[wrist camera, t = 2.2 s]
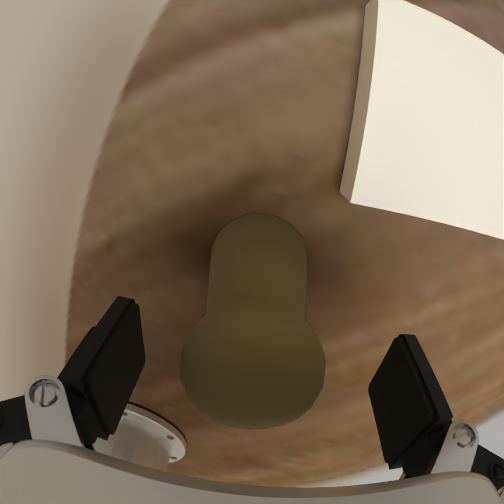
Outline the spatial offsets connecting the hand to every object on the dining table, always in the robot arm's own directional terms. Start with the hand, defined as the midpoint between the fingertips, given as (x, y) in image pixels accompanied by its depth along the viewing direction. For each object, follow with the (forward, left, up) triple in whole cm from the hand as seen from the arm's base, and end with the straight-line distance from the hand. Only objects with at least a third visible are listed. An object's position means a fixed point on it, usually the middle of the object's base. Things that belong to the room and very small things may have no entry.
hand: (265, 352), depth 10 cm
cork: (-1, 0, -9) cm, 9 cm away
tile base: (+10, -10, -9) cm, 17 cm away
